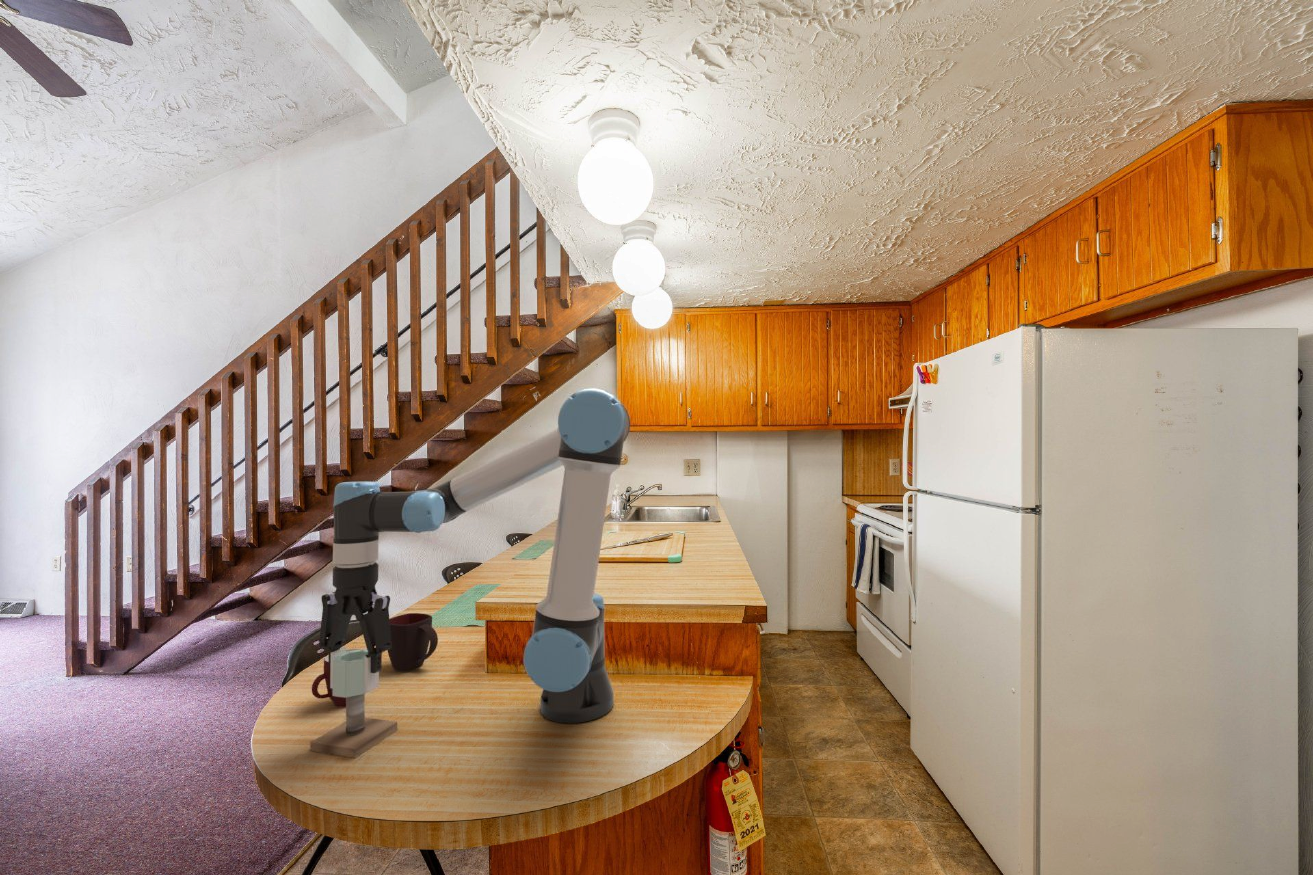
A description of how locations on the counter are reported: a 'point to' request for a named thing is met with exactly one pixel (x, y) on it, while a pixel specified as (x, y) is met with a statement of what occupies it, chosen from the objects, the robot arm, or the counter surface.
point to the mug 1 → (328, 684)
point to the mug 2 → (411, 641)
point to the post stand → (354, 732)
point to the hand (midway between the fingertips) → (354, 687)
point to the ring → (349, 673)
